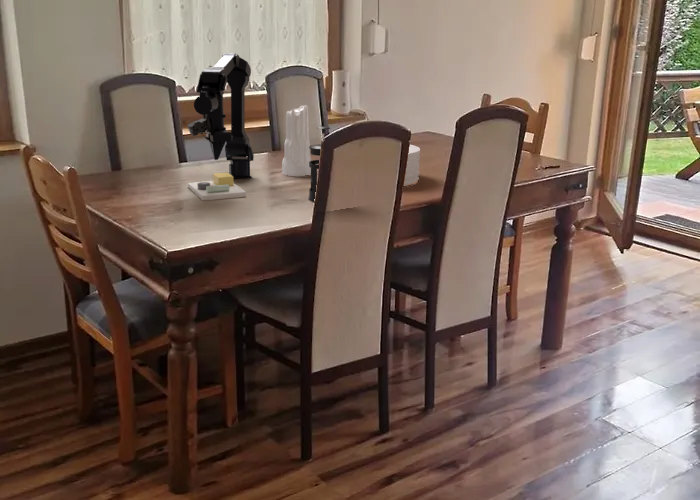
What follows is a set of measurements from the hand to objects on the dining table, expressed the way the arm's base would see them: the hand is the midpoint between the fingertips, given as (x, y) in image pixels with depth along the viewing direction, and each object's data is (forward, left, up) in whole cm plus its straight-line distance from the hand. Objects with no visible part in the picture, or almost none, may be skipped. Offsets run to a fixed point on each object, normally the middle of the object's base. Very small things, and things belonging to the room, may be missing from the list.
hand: (216, 159), depth 250 cm
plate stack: (-59, -1, -11) cm, 60 cm away
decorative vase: (-35, -20, -11) cm, 42 cm away
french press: (-29, +21, -11) cm, 38 cm away
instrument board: (0, -1, -11) cm, 11 cm away
